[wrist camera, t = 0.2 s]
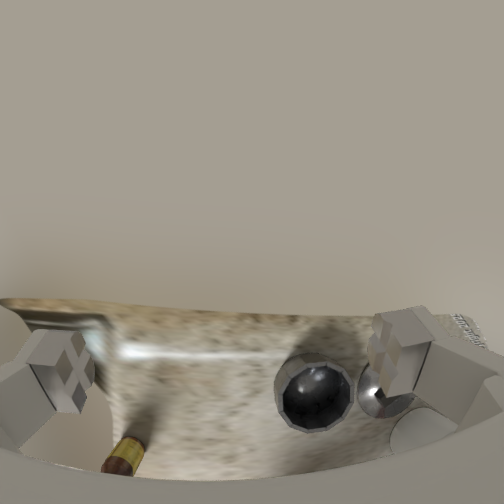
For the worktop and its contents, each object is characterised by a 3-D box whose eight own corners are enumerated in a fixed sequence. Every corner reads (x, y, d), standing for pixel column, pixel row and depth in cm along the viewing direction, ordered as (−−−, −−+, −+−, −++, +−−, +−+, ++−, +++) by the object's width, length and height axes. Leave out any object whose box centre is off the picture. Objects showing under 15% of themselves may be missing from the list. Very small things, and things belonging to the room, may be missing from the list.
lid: (425, 386, 62) (437, 393, 56) (373, 427, 60) (383, 437, 55) (399, 337, 62) (411, 341, 57) (343, 379, 61) (351, 387, 56)
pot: (353, 390, 61) (366, 403, 53) (296, 428, 60) (303, 445, 52) (319, 339, 62) (330, 346, 54) (260, 378, 61) (262, 391, 53)
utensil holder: (447, 427, 61) (487, 453, 43) (403, 468, 59) (435, 503, 42) (425, 393, 61) (468, 417, 44) (376, 436, 60) (410, 473, 43)
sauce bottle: (128, 460, 58) (97, 508, 38) (114, 438, 58) (78, 482, 38) (152, 454, 58) (126, 505, 38) (138, 432, 59) (106, 478, 39)
